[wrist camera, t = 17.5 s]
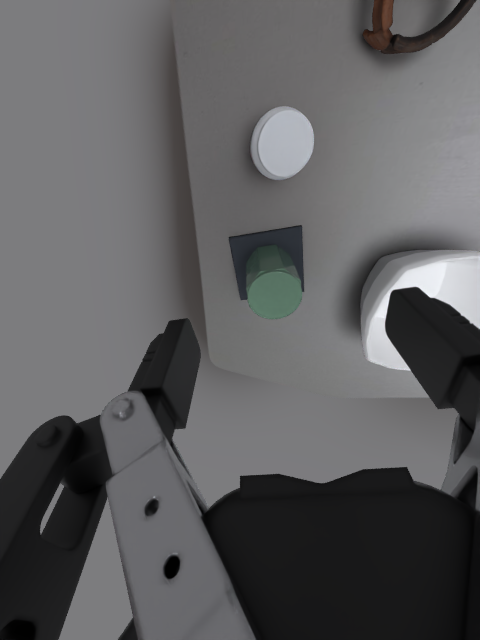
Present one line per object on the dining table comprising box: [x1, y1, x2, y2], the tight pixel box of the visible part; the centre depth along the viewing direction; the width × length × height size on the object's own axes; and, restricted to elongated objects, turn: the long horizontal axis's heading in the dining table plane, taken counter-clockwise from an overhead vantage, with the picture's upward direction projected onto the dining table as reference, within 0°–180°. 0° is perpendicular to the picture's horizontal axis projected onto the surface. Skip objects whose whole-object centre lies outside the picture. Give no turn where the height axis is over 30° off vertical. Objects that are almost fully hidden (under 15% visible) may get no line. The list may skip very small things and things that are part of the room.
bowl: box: [360, 250, 480, 371], centre depth 35 cm, size 18×18×9 cm
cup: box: [246, 244, 302, 319], centre depth 33 cm, size 6×6×9 cm
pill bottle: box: [249, 106, 314, 180], centre depth 25 cm, size 6×6×10 cm
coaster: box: [229, 225, 304, 300], centre depth 37 cm, size 10×10×1 cm
